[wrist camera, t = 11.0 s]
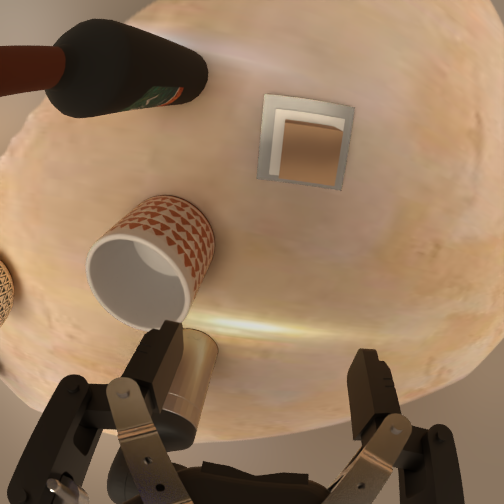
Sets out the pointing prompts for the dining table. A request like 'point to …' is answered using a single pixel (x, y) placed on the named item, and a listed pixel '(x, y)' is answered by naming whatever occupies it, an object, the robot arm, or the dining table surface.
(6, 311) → the planter
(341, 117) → the plinth
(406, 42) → the dining table surface
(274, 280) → the dining table surface
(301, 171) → the walnut block
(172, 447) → the robot arm
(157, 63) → the wine bottle
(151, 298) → the vase
